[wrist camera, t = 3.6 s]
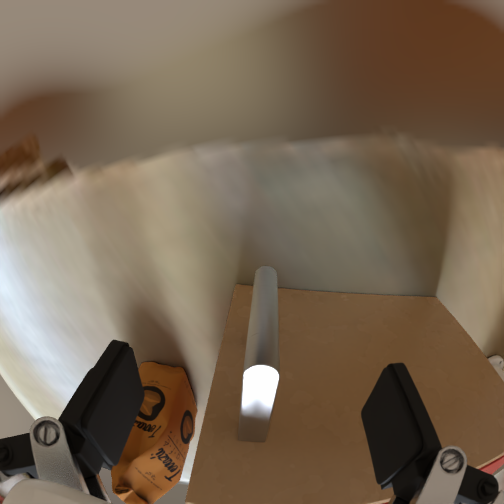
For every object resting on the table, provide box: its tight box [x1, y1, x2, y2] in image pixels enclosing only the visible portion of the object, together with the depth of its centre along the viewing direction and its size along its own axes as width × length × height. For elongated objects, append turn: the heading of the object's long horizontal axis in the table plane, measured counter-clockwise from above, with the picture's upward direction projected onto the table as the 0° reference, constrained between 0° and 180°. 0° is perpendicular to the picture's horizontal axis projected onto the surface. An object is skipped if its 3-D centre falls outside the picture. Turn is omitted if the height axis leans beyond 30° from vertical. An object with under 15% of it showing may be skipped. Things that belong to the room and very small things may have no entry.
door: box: [185, 266, 504, 504], centre depth 19 cm, size 8×26×24 cm, turn 86°
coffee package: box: [111, 362, 197, 504], centre depth 29 cm, size 10×12×22 cm
